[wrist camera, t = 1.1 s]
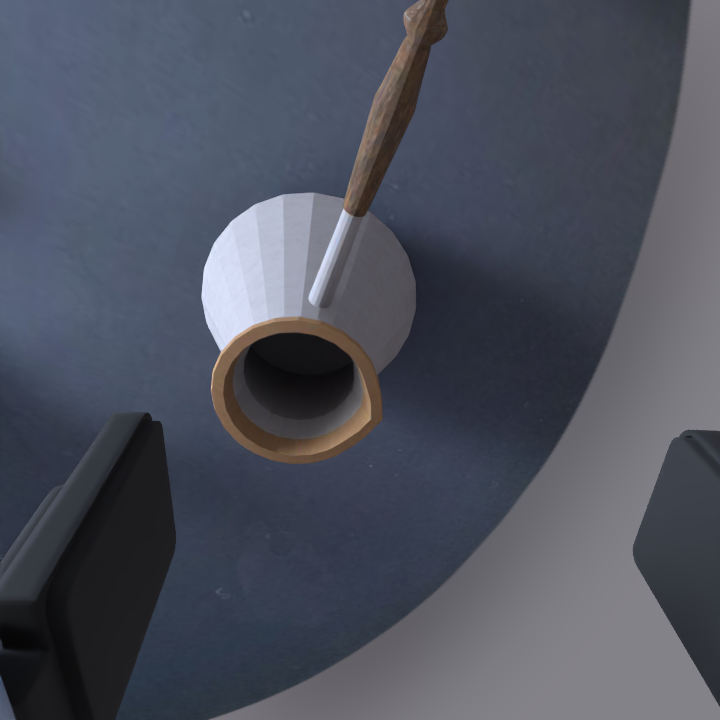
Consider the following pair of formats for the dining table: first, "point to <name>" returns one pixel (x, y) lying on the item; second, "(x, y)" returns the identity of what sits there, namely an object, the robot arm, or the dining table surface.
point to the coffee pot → (318, 291)
